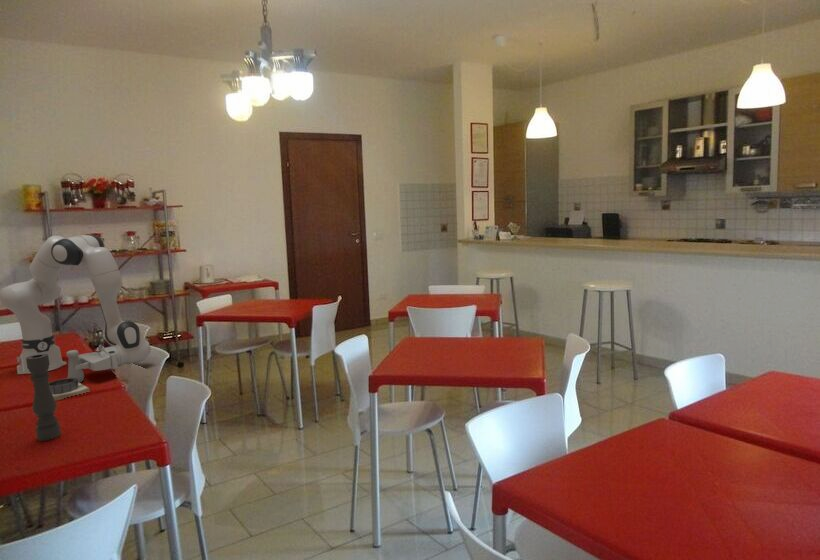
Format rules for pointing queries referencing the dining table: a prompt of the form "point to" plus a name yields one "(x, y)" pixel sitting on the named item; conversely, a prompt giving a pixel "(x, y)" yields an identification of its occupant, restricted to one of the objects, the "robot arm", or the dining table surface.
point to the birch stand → (72, 392)
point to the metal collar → (63, 385)
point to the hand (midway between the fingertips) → (71, 365)
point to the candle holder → (43, 398)
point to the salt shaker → (72, 362)
